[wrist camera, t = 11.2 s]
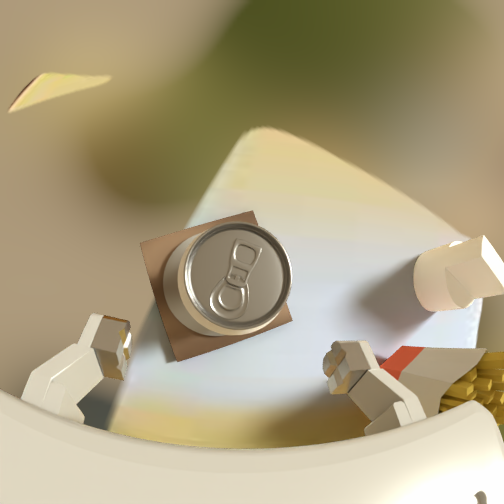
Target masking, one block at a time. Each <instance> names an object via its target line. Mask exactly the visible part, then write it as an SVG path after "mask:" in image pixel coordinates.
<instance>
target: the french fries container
mask: <svg viewBox="0 0 504 504" xmlns="http://www.w3.org/2000/svg"><path fill="white" fill-rule="evenodd" d="M379 367H380V369H384V370H385V371H386V372H388V373H389V374H390V375H391V376H393V377H394V378H395V379H396V380H398V381H399V382H400V383H401V384H402V385H404V386H405V387H406V388H407V389H409V390H410V391H411V392H412V393H414V394H415V395H416V396H417V397H418V399H419V401H420V404H421V406H422V408H423V410H424V413H425V415H426V417H427V418H429V417H432V416H434V415H437V414H440V413H442V412H445V411H447V410H450V409H452V408H454V407H457V406H459V405H461V404H463V403H466V402H468V401H471V400H475V401H476V402H478V403H480V404H481V405H482V406H484V407H485V408H486V409H487V410H488V411H489V412H490V413H491V414H492V415H493V417H494V419H495V421H496V423H497V426H498V425H499V424H504V392H499V391H495V390H504V370H498V369H504V352H495V353H488V351H487V348H486V349H462V348H429V347H411V346H401V347H400V348H399V349H398V350H397V351H396V352H395V353H394V354H393V355H392V356H391V357H389V358H388V359H387V360H386V361H385V362H384V363H383V364H382V365H380V366H379Z"/></svg>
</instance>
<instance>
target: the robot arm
mask: <svg viewBox="0 0 504 504" xmlns="http://www.w3.org/2000/svg"><path fill="white" fill-rule="evenodd" d="M129 330H130V322H129V321H127V320H123V319H118V318H114V317H110V316H106V315H101V314H97V313H92V314H91V315H90V317H89V319H88V321H87V323H86V325H85V327H84V330H83V332H82V334H81V336H80V338H79V341H78V343H77V344H75V343H73V344H72V345H70V346H69V347H67V348H66V349H64V350H63V351H61V352H60V353H58V354H57V355H55V356H54V357H52V358H51V359H50V360H48V361H47V362H45V363H44V364H42V365H41V366H39V367H38V368H36V369H35V370H33V371H32V372H31V374H30V377H29V379H28V382H27V384H26V386H25V389H24V391H23V395H22V397H21V399H19V398H17V397H15V396H13V395H11V394H9V393H8V392H6V391H3V390H2V389H0V504H504V442H503V439H502V436H501V434H500V431H499V428H498V426H497V423H496V421H495V419H494V417H493V415H492V414H491V413H490V412H489V411H488V410H487V409H486V408H485V407H484V406H482V405H481V404H480V403H478V402H476V401H475V400H471V401H468V402H466V403H463V404H461V405H459V406H457V407H454V408H452V409H450V410H447V411H445V412H442V413H440V414H437V415H434V416H432V417H429V418H427V417H426V415H425V413H424V410H423V408H422V406H421V404H420V401H419V399H418V397H417V396H416V395H415V394H414V393H412V392H411V391H410V390H409V389H407V388H406V387H405V386H404V385H402V384H401V383H400V382H399V381H398V380H396V379H395V378H394V377H393V376H391V375H390V374H389V373H388V372H386V371H385V370H384V369H380V367H379V365H378V363H377V360H376V358H375V356H374V354H373V352H372V350H371V347H370V345H369V343H368V342H367V341H335V342H334V343H333V344H332V345H331V349H332V350H331V351H329V352H328V353H326V355H325V357H324V359H323V371H324V374H325V375H326V376H327V377H329V378H328V381H327V384H328V387H329V391H330V394H347V393H348V394H347V395H348V396H349V397H350V398H351V399H352V400H353V401H354V403H355V404H356V405H357V406H358V407H359V408H360V409H361V410H362V411H363V413H364V414H365V415H366V416H367V417H368V418H369V419H370V420H371V421H372V422H371V423H370V424H369V425H368V426H367V427H365V429H364V432H365V435H366V436H363V437H358V438H353V439H348V440H342V441H336V442H330V443H323V444H316V445H307V446H297V447H285V448H266V449H226V448H207V447H195V446H185V445H177V444H169V443H162V442H156V441H150V440H145V439H139V438H135V437H130V436H125V435H121V434H117V433H113V432H109V431H105V430H101V429H98V428H94V427H91V426H87V425H85V424H83V423H84V415H83V414H82V412H81V411H80V409H79V408H78V406H77V405H76V404H77V403H78V402H79V401H80V400H81V399H82V398H83V397H84V396H85V395H86V394H87V393H88V392H89V391H90V390H91V389H92V388H93V387H94V386H96V385H97V384H98V383H99V381H101V380H102V379H103V378H104V377H108V378H114V379H119V380H123V381H124V378H125V374H126V370H127V363H126V360H127V359H129V358H130V354H131V349H132V335H131V334H130V333H129ZM103 376H104V377H103Z"/></svg>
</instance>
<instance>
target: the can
mask: <svg viewBox="0 0 504 504" xmlns="http://www.w3.org/2000/svg"><path fill="white" fill-rule="evenodd" d="M291 285H292V269H291V264H290V260H289V257H288V255H287V253H286V251H285V249H284V247H283V246H282V244H281V243H280V242H279V241H278V240H277V238H276V237H274V236H273V235H272V234H271V233H270V232H268V231H267V230H265V229H264V228H262V227H260V226H257V225H255V224H252V223H248V222H241V221H232V222H225V223H221V224H218V225H216V226H214V227H212V228H210V229H207V230H206V231H204V232H202V233H201V234H199V235H198V236H197V237H196V238H195V239H194V240H193V241H192V242H191V243H190V244H189V246H188V247H187V248H186V250H185V252H184V254H183V256H182V258H181V261H180V264H179V269H178V289H179V293H180V297H181V299H182V302H183V304H184V306H185V308H186V309H187V311H188V312H189V314H190V315H191V316H192V317H193V318H194V319H195V320H196V321H197V322H198V323H199V324H201V325H202V326H204V327H205V328H207V329H209V330H211V331H214V332H217V333H220V334H224V335H244V334H248V333H252V332H255V331H257V330H259V329H261V328H263V327H264V326H266V325H267V324H269V323H270V322H271V321H272V320H273V319H274V318H275V317H276V316H277V315H278V313H279V312H280V311H281V309H282V308H283V306H284V305H285V303H286V301H287V299H288V296H289V294H290V290H291Z"/></svg>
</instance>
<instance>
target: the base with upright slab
mask: <svg viewBox="0 0 504 504" xmlns="http://www.w3.org/2000/svg"><path fill="white" fill-rule="evenodd" d="M413 282H414V289H415V293H416V296H417V298H418V300H419V302H420V304H421V305H422V306H423V307H424V308H425V309H426V310H428V311H432V312H436V311H446V310H455V309H464V308H467V307H469V306H470V305H471V304H472V302H473V300H474V299H477V298H483V297H489V296H494V295H500V294H504V263H503V261H502V260H501V258H500V257H499V255H498V254H497V253H496V251H495V250H494V248H493V247H492V245H491V244H490V243H489V241H488V240H487V239H486V237H485V236H484V235H482V236H479V237H477V238H474V239H471V240H468V241H465V242H463V243H462V242H460V241H454V242H451V243H449V244H446V245H443V246H440V247H437V248H434V249H431V250H428V251H425V252H424V253H422V254H421V255H420V256H419V257H418V259H417V261H416V264H415V267H414V272H413Z"/></svg>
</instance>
